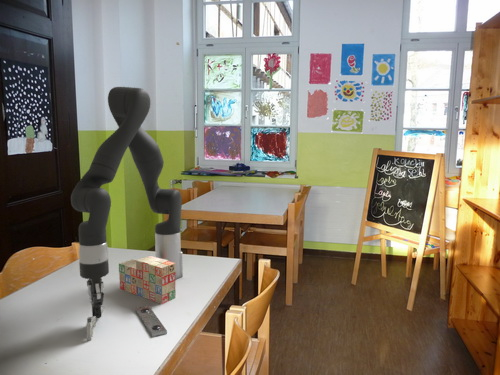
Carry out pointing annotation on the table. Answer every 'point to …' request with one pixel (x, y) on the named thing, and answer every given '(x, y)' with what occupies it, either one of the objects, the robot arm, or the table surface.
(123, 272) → the stack of blocks
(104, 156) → the robot arm
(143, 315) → the bolt strip
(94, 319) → the caliper
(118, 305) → the table surface
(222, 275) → the table surface
